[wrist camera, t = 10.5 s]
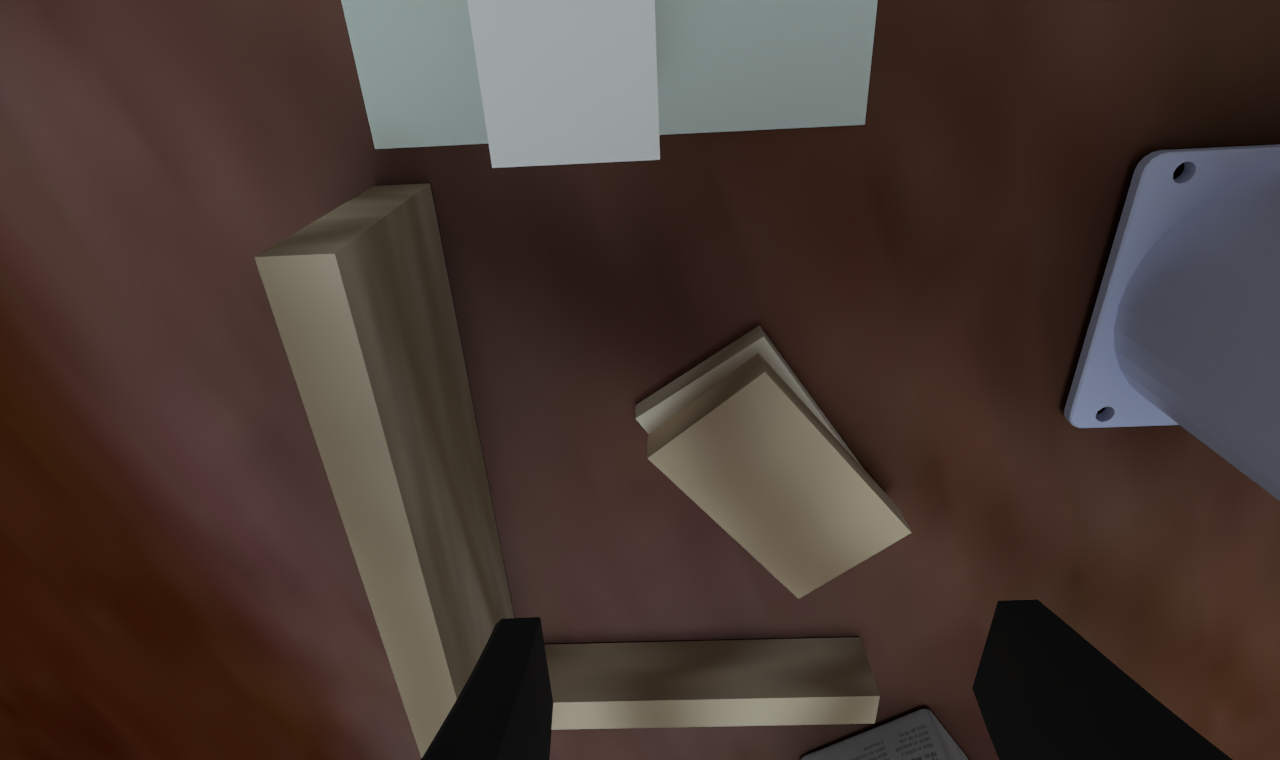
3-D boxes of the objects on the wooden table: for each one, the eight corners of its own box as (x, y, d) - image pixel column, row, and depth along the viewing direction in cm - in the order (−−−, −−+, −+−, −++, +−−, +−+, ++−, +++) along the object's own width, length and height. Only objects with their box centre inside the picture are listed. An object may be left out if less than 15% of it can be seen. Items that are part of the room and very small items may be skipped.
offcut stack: (764, 314, 20) (779, 349, 18) (891, 491, 23) (917, 540, 20) (633, 399, 21) (632, 442, 19) (769, 555, 24) (781, 607, 22)
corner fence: (932, 159, 17) (1060, 220, 12) (855, 664, 26) (908, 828, 21) (373, 185, 18) (254, 257, 12) (487, 672, 27) (447, 834, 21)
